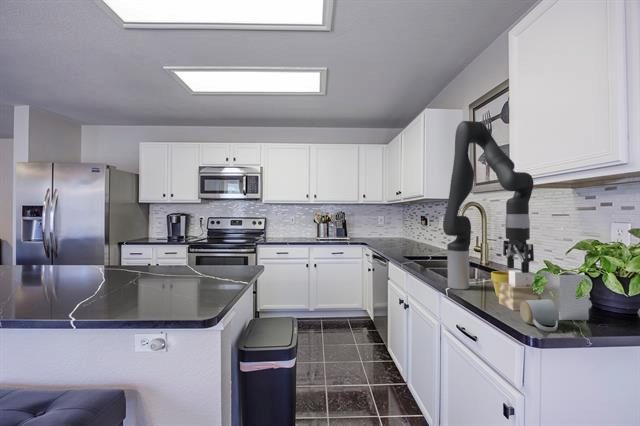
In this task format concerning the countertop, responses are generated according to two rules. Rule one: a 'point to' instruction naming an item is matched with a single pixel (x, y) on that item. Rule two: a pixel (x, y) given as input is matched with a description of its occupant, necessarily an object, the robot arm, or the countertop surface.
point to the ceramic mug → (540, 314)
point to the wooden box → (515, 295)
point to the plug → (517, 278)
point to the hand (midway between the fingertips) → (517, 270)
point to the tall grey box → (566, 295)
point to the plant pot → (499, 279)
